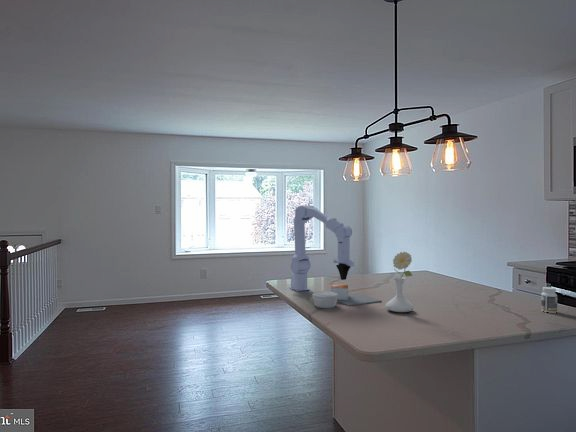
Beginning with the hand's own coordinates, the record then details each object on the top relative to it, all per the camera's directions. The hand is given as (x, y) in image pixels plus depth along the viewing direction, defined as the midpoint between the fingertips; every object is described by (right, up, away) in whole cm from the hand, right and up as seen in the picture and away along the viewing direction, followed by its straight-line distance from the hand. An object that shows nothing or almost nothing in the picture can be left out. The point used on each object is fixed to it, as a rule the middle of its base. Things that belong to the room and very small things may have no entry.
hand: (343, 279), depth 194 cm
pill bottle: (+81, -9, -27) cm, 86 cm away
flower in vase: (+20, -9, -27) cm, 35 cm away
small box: (-2, -5, +1) cm, 5 cm away
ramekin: (-10, -9, -17) cm, 22 cm away
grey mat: (+4, -9, -6) cm, 11 cm away
